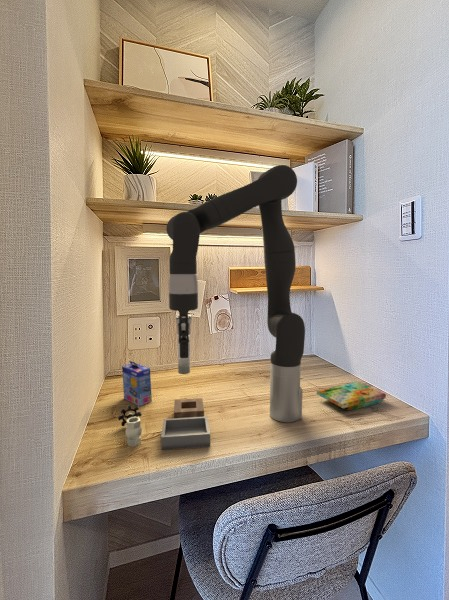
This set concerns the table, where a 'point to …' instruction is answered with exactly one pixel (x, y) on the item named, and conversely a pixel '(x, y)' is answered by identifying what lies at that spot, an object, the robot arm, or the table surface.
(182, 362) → the pin
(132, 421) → the valve
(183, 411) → the pin block
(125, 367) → the ink cartridge box
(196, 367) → the table surface
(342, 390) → the puzzle game
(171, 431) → the tray
